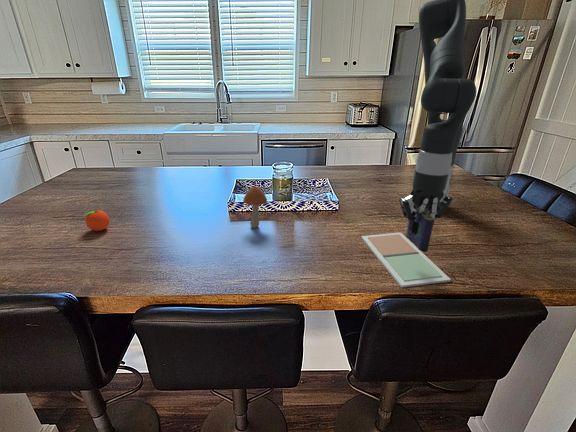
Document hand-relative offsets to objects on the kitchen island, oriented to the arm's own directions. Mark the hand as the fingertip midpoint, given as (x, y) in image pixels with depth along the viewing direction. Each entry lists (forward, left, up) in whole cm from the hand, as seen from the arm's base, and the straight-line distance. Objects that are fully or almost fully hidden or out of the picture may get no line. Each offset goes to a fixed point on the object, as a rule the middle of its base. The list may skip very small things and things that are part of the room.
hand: (418, 232), depth 83 cm
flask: (0, 0, -3) cm, 3 cm away
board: (0, -6, -11) cm, 13 cm away
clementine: (+93, -40, -12) cm, 102 cm away
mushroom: (+40, -33, -12) cm, 53 cm away
